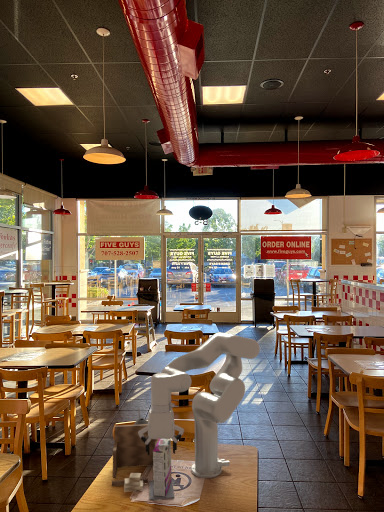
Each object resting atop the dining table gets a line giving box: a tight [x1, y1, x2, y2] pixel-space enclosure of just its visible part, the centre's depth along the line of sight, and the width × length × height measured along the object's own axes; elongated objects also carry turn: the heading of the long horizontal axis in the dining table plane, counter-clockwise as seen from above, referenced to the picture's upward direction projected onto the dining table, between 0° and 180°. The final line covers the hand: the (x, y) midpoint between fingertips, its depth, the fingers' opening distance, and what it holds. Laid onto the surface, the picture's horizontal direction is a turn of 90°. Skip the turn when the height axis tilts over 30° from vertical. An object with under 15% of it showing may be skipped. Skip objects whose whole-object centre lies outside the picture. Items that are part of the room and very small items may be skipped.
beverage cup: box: [133, 408, 148, 425], centre depth 177 cm, size 7×7×20 cm
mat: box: [148, 479, 175, 501], centre depth 148 cm, size 9×12×1 cm
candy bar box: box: [152, 438, 173, 497], centre depth 148 cm, size 11×5×16 cm, turn 172°
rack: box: [111, 424, 159, 487], centre depth 160 cm, size 18×15×17 cm
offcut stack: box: [123, 472, 144, 493], centre depth 149 cm, size 7×4×5 cm, turn 96°
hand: (161, 452), depth 148 cm, fingers open, 9 cm apart
